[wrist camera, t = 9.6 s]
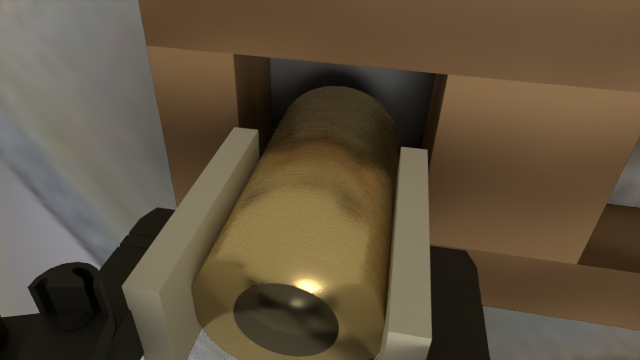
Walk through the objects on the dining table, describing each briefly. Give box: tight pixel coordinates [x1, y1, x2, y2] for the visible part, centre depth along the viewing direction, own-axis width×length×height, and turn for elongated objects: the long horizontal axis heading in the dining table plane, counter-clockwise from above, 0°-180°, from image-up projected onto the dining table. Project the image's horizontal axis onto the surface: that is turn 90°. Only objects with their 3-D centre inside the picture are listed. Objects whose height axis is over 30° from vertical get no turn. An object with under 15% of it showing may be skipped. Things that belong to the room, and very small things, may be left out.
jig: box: [138, 0, 640, 330], centre depth 16 cm, size 12×24×4 cm, turn 88°
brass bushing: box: [192, 86, 399, 360], centre depth 13 cm, size 4×4×8 cm
